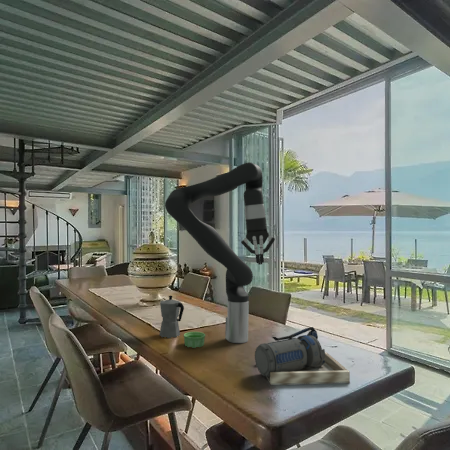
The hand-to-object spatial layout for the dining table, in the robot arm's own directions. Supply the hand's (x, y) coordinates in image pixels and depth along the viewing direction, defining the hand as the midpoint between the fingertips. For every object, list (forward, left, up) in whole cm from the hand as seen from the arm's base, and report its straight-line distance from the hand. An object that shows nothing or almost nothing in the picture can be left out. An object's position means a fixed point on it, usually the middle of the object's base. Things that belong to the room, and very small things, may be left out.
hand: (260, 264), depth 128 cm
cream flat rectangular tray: (+16, +2, -35) cm, 39 cm away
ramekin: (-31, -5, -36) cm, 47 cm away
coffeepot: (-48, -4, -36) cm, 59 cm away
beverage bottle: (+10, -12, -29) cm, 33 cm away
